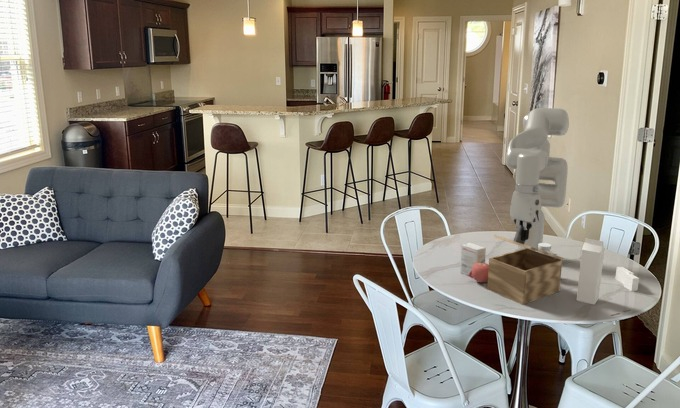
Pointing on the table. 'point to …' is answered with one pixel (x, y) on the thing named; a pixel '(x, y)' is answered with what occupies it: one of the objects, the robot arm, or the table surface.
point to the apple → (480, 272)
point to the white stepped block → (627, 278)
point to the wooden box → (524, 275)
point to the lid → (521, 243)
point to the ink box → (471, 257)
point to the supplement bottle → (545, 247)
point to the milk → (590, 271)
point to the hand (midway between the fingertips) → (522, 239)
